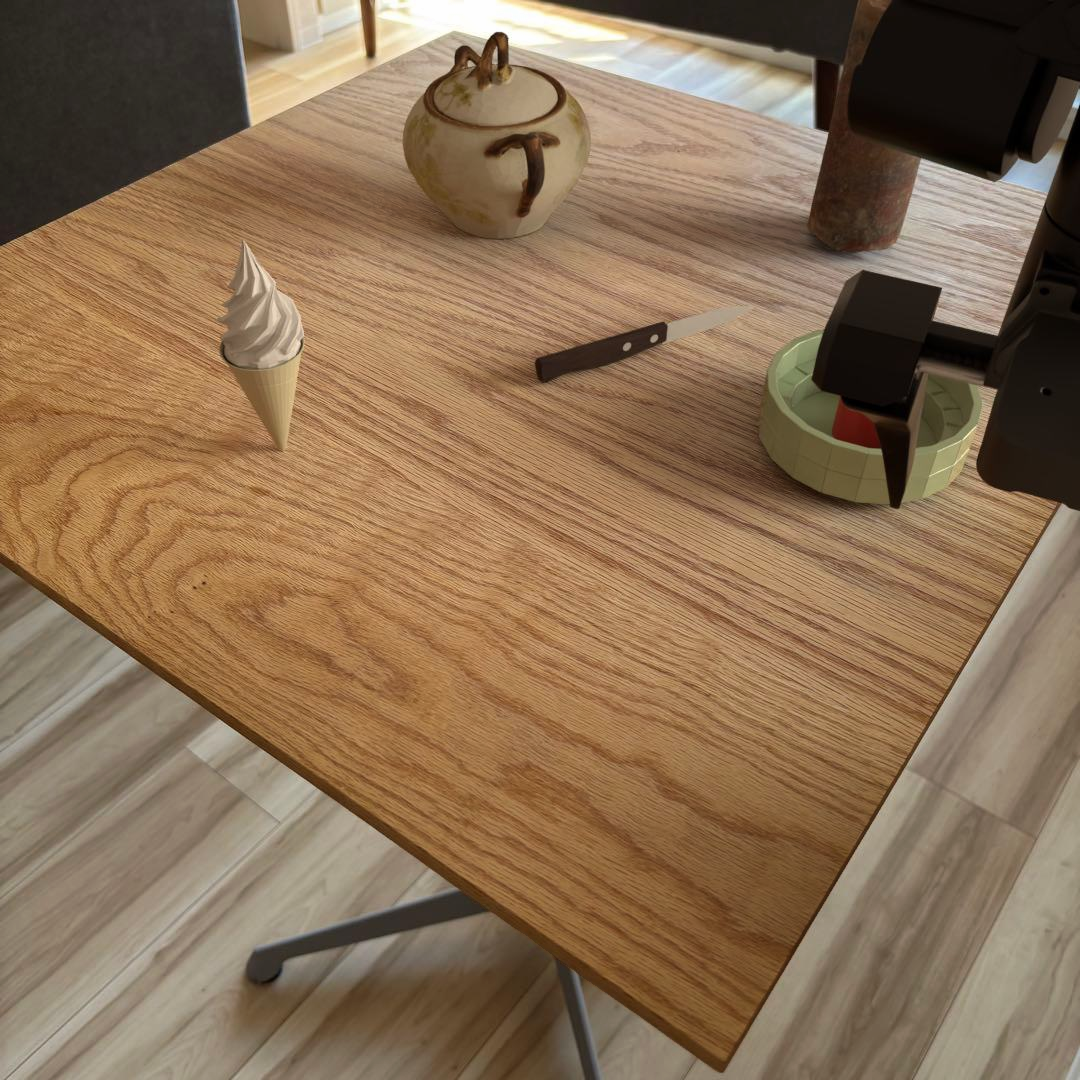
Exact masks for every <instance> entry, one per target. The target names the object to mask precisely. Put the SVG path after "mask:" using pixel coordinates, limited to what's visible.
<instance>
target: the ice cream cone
mask: <svg viewBox="0 0 1080 1080" xmlns="http://www.w3.org/2000/svg"><path fill="white" fill-rule="evenodd" d="M261 264H262V263H260V261H259V260H258V259H257V257H256V256H255V255H254V253H253V252H252V251H251V249H250V247H249V246H248V244H247V242H246V241H245V240H242V241H241V247H240V252H239V256H238V260H237V264H236V268H235V272H234V276H233V277H232V279H231V281H230V282H229V283H228V285H227V288H229V289H231V290H233V291H234V292H233V294H232V295H231V297H230V298H229V299H228V300H226V301H225V302H222V303H221V307H224V308H227V313H226V314H224V315H223V316H219V317H217V318H216V319H215V320H216V321H217V322H218V323H220V324H223V325H226V326H227V331H225V332H224V333H222V334H220V336H219V340H220V344H219V347H218V353H219V356H220V359H222V361H223V362H224V363H225V364H226V365H227V366H228V367H229V369H230V371H231V372H232V374H233V376H234V378H235V379H236V382H237V383H238V385H239V386H240V388H241V390H242V391H243V393H244V394H245V396H246V398H247V399H248V401H249V403H250V405H251V406H252V408H253V410H254V412H255V414H256V415H257V417H258V418H259V419H260V421H261V423H262V425H263V427H264V428H265V430H266V432H267V433H268V434H269V436H270V439H272V441H273V443H274V444H275V447H276V448H277V450H278V451H280V452H284V451H286V450H287V446H288V439H289V433H290V427H291V421H292V414H293V409H294V408H293V407H294V402H295V397H296V389H297V385H298V377H299V370H300V363H301V358H302V352H303V351H304V348H305V344H306V341H305V331H304V328H303V327H304V326H303V324H302V316H301V314H300V312H299V310H298V308H297V306H296V304H295V302H294V300H293V298H292V297H290V296H289V295H287V294H284V293H283V292H282V291H280V290H278V289H277V287H276V285H277V281H275V279H274V278H273V277H272V276H271V274H270V273H268V271H267V270H266V269H265V267H263V265H261Z"/></svg>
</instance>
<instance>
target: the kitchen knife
mask: <svg viewBox="0 0 1080 1080" xmlns="http://www.w3.org/2000/svg"><path fill="white" fill-rule="evenodd" d="M754 308H755V306H752V305H741V306H739V305H738V306H737V305H736V306H724V307H723V306H722V307H716V308H713V309H710V310H707V311H703V312H699V313H696V314H692V315H690V316H686V317H683V318H680V319H677V320H673V321H669V322H666V321H660V322H656V323H653V324H650V325H649V324H648V325H646V326H642V327H640V328H637V329H633V330H630V331H626V332H622V333H619V334H616V335H612V336H609V337H606V338H602V339H599V340H595V341H590V342H587V343H585V344H581V345H578V346H574V347H570V348H567V349H564V350H560V351H557V352H553V353H550V354H546V355H542V356H539V357H537V358H536V359H535V361H534V368H535V372H536V378H537V379H538V381H539V382H540V383H541V384H546V383H549V382H551V381H553V380H555V379H557V378H559V377H561V376H564V375H567V374H570V373H573V372H579V371H585V370H592V369H595V368H600V367H604V366H607V365H610V364H613V363H616V362H619V361H622V360H625V359H627V358H630V357H633V356H636V355H638V354H640V353H642V352H645V351H646V350H650V349H652V348H654V347H656V346H658V345H661V346H662V345H666V344H669V343H671V342H674V341H677V340H680V339H683V338H687V337H690V336H694V335H697V334H700V333H703V332H706V331H709V330H712V329H714V328H718V327H720V326H723V325H725V324H727V323H730V322H732V321H734V320H736V319H738V318H740V317H742V316H744V315H746V314H747V313H749V312H750V311H752V310H753V309H754Z"/></svg>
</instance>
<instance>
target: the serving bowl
mask: <svg viewBox="0 0 1080 1080" xmlns="http://www.w3.org/2000/svg"><path fill="white" fill-rule="evenodd" d="M823 332H824V328H823V329H818V330H814V331H811V332H809V333H806V334H803V335H800V336H798V337H795V338H793V339H791V340H790V341H788V343H787V344H785V345H784V346H783V347H781V348H780V349H779V350H777V351H776V352H775V354H774V355H773V357H772V359H771V362H770V363H769V365H768V368H767V369H766V372H765V373H766V374H765V379H764V384H763V390H762V396H761V400H760V406H759V411H758V416H757V421H758V436H759V439H760V441H761V443H762V445H763V447H764V449H765V450H766V452H767V454H768V456H769V457H770V459H771V460H772V461H773V462H774V463H775V464H776V465H777V466H779V468H781V470H783V471H784V472H786V474H788V475H789V476H790V477H791V478H792V479H794V480H796V481H798V482H799V483H801V484H804V485H805V486H807V487H809V488H811V489H813V490H815V491H817V492H819V493H821V494H825V495H828V496H830V497H831V496H832V497H835V498H838V499H842V500H846V501H850V502H854V503H862V504H875V505H888V506H890V502H889V495H888V488H887V482H886V475H885V469H884V462H883V456H882V450H881V449H875V448H866V447H863V446H859V445H855V444H851V443H848V442H844V441H840V440H837V439H835V438H833V436H832V427H833V423H834V419H835V415H836V411H837V407H838V403H839V398H840V396H839V395H836V394H832V393H828V392H824V391H821V390H820V389H819V388H818V387H817V386H816V385H815V383H814V382H813V381H812V380H811V379H812V375H813V370H814V365H815V361H816V356H817V352H818V348H819V344H820V341H821V338H822V335H823ZM983 408H984V402H983V399H982V396H981V392H980V389H979V386H978V385H974V384H970V383H965V382H961V381H957V380H953V379H949V378H945V377H941V376H937V375H933V374H929V373H928V378H927V384H926V390H925V396H924V402H923V408H922V414H921V420H920V425H919V431H918V437H917V443H916V449H915V455H914V461H913V466H912V470H911V473H910V477H909V480H908V483H907V486H906V490H905V493H904V496H903V499H902V502H901V504H902V503H908V502H916V501H921V500H923V499H925V498H928V497H930V496H932V495H933V494H936V493H938V492H940V491H942V490H945V489H946V488H947V487H948V486H949V485H950V484H951V483H952V482H953V481H954V480H955V479H956V478H957V477H958V476H959V475H960V474H961V472H962V471H963V468H964V466H965V463H966V460H967V457H968V455H969V452H970V450H971V446H972V443H973V440H974V438H975V435H976V432H977V430H978V427H979V425H980V420H981V416H982V412H983Z"/></svg>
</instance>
